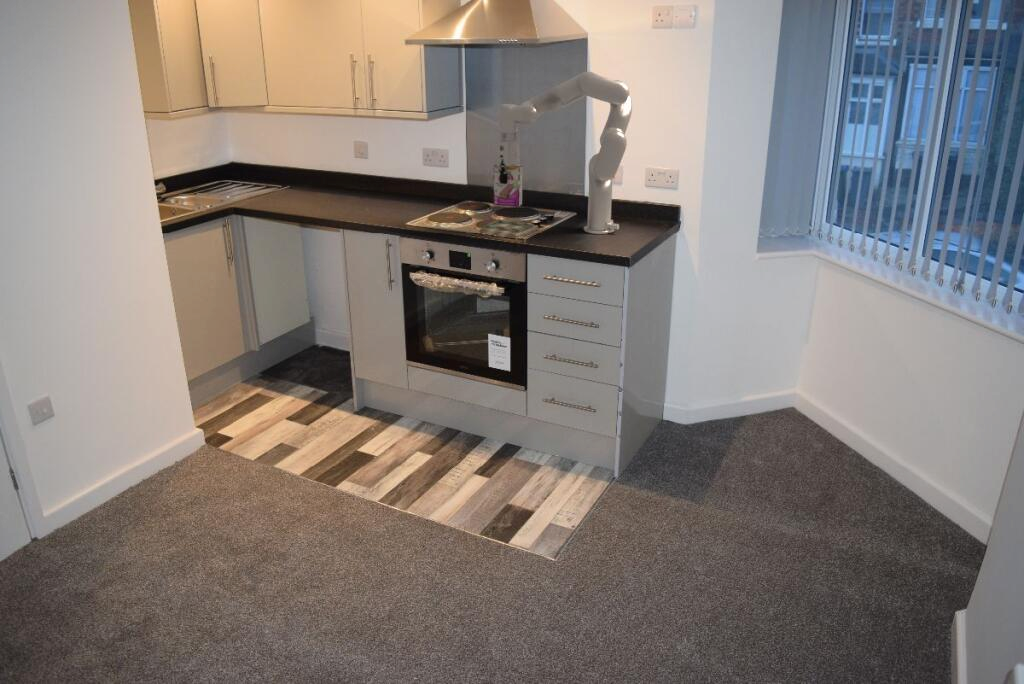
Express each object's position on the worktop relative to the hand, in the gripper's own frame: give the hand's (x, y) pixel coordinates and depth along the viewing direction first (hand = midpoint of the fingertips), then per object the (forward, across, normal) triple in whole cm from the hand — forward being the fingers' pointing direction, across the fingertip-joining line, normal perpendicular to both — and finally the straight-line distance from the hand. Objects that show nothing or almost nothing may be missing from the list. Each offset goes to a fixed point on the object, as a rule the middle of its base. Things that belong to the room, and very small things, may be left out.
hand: (508, 181), depth 331 cm
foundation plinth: (+21, 0, 0) cm, 21 cm away
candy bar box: (+10, 0, 0) cm, 10 cm away
